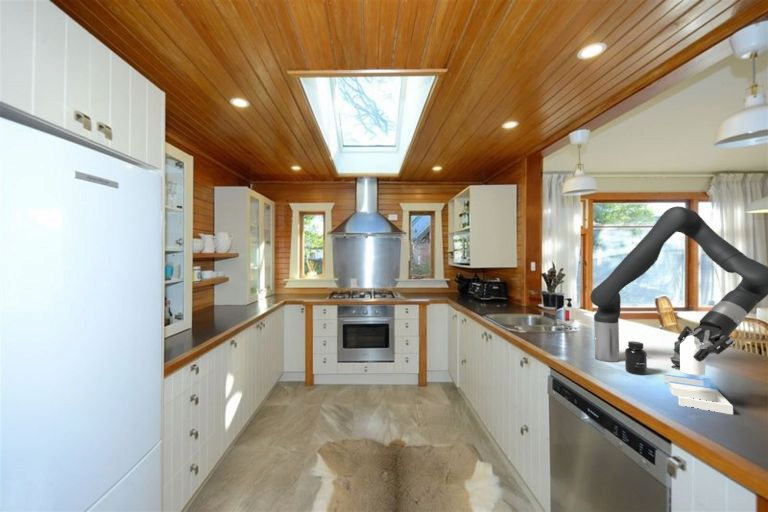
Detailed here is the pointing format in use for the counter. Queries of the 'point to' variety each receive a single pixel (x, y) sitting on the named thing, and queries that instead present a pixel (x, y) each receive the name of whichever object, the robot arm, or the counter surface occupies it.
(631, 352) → the supplement bottle
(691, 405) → the white rail frame
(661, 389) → the counter surface
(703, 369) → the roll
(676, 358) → the dark grey turned piece
